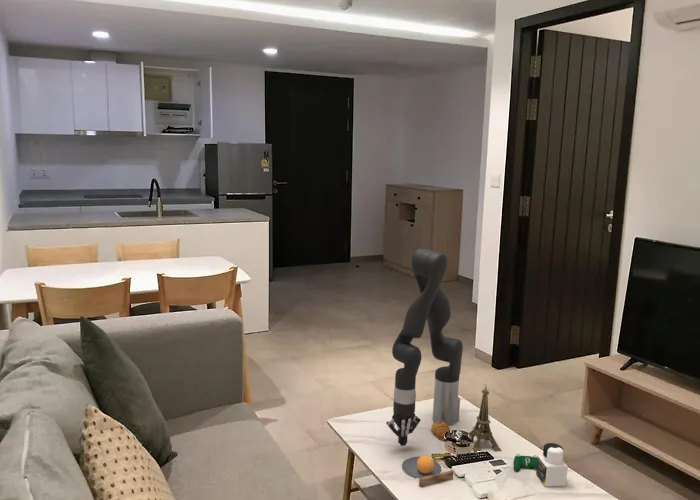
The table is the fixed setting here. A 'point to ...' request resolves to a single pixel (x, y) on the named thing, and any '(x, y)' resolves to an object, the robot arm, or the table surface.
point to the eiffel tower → (483, 421)
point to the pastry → (440, 429)
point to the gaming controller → (524, 462)
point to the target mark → (412, 470)
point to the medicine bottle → (552, 466)
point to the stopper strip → (435, 478)
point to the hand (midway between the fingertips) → (402, 444)
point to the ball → (425, 464)
